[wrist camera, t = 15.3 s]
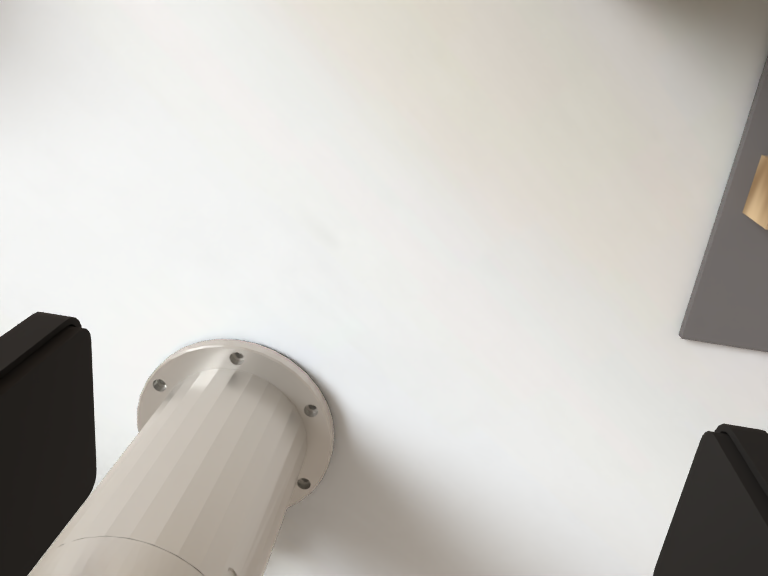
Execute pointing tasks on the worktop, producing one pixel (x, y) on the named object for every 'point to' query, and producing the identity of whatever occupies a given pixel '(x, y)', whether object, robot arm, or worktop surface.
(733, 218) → the rubber mat
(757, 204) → the oak ledge
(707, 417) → the worktop surface
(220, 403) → the robot arm
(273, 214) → the worktop surface
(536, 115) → the worktop surface
